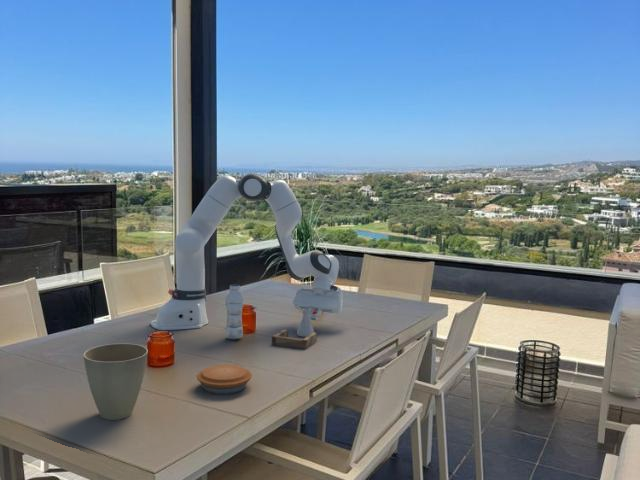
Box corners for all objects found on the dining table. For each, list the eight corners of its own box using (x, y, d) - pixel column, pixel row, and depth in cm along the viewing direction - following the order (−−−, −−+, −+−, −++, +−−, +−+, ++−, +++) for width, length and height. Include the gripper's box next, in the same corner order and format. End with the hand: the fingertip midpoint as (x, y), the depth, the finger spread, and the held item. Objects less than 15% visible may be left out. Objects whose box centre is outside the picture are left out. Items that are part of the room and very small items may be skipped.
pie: (242, 400, 156) (242, 382, 155) (187, 394, 158) (187, 377, 158) (258, 380, 171) (258, 364, 170) (208, 376, 174) (208, 359, 173)
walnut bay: (305, 349, 204) (305, 340, 203) (271, 344, 208) (271, 336, 208) (316, 340, 214) (316, 332, 214) (284, 336, 219) (284, 329, 218)
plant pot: (70, 420, 139) (69, 356, 138) (112, 399, 153) (112, 340, 152) (120, 431, 134) (120, 364, 132) (160, 408, 148) (160, 348, 146)
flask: (301, 338, 217) (302, 312, 216) (293, 333, 224) (293, 308, 223) (318, 336, 221) (319, 310, 220) (310, 331, 227) (310, 306, 226)
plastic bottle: (246, 339, 214) (247, 285, 212) (232, 342, 209) (233, 287, 207) (235, 335, 218) (236, 283, 216) (221, 338, 213) (222, 285, 211)
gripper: (296, 283, 238) (286, 312, 230) (343, 288, 232) (335, 317, 223) (299, 292, 243) (290, 320, 235) (346, 297, 236) (338, 326, 228)
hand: (313, 319), depth 229 cm, fingers closed
